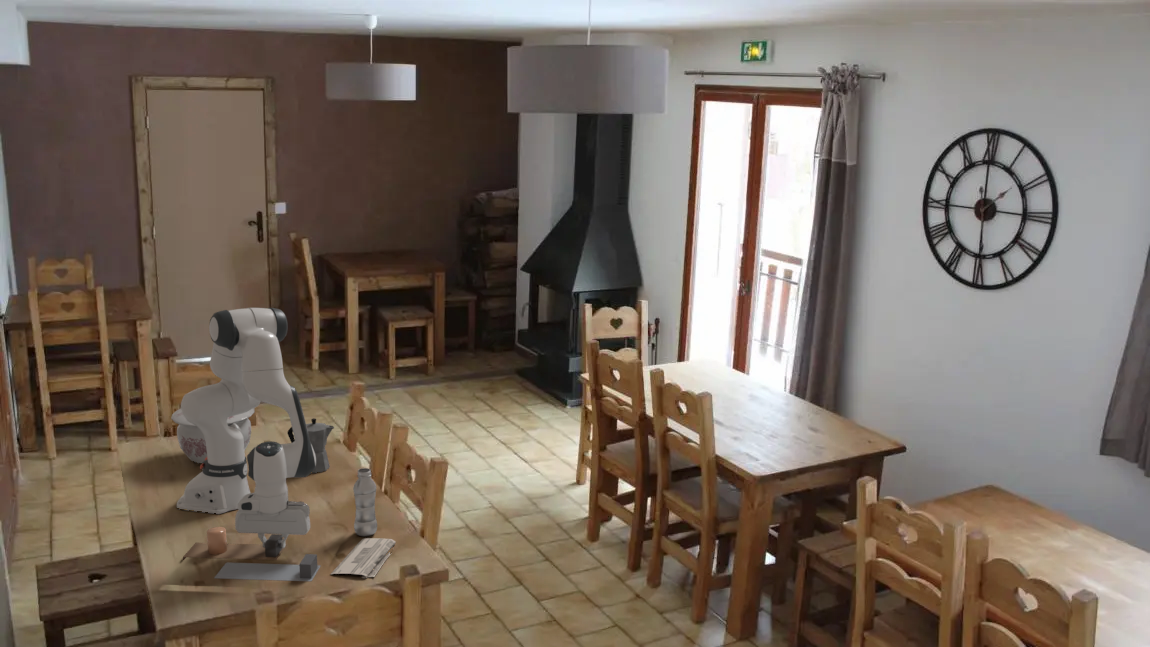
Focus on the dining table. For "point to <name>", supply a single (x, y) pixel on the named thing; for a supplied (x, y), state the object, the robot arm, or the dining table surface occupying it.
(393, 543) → the newspaper
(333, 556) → the dining table surface
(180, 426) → the chamber pot
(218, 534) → the canister
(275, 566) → the grey strip
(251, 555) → the walnut strip
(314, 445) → the coffeepot
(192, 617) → the dining table surface
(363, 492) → the plastic bottle
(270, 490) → the robot arm
